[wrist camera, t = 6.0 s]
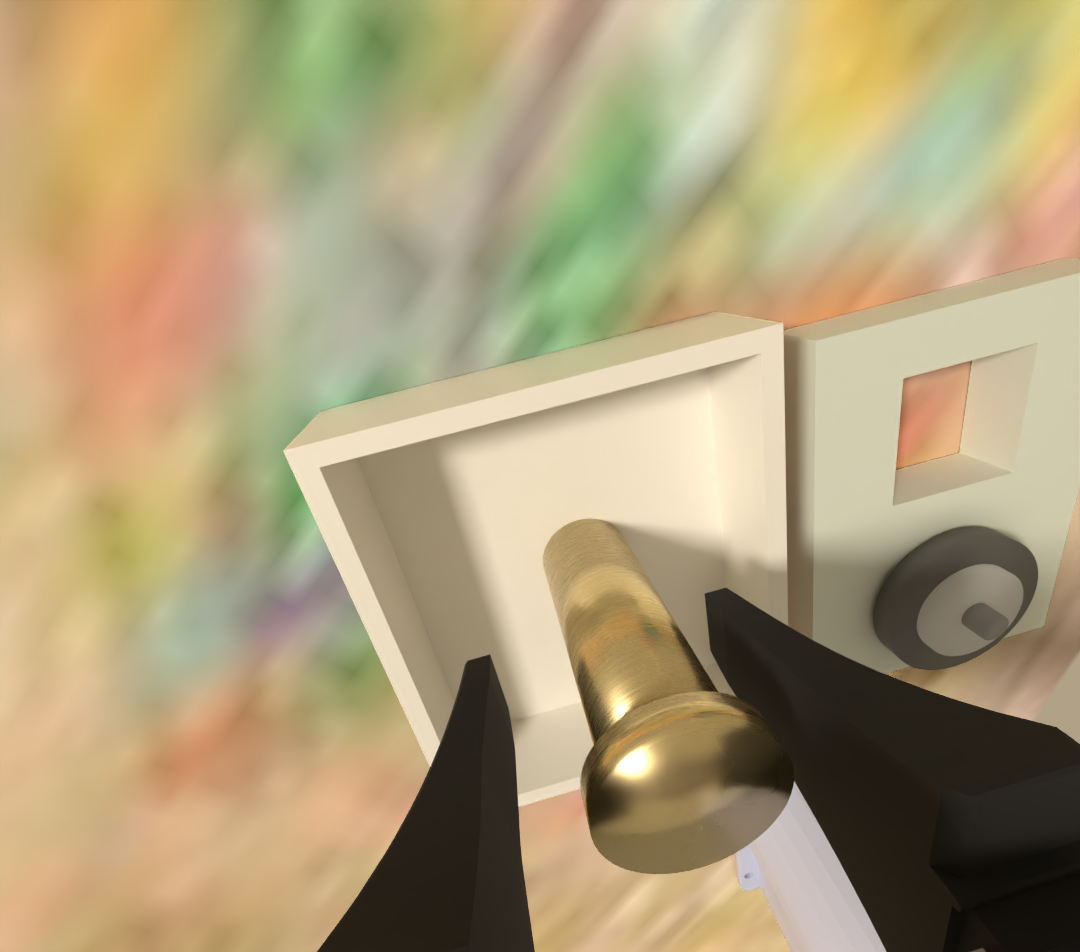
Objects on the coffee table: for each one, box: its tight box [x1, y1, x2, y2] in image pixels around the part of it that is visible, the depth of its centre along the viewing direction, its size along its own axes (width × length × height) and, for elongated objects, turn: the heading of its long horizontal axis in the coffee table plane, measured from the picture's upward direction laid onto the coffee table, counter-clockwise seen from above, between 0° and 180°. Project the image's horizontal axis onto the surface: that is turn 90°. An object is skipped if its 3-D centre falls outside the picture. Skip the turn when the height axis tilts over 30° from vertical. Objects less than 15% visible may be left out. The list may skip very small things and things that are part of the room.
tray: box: [283, 311, 788, 807], centre depth 16 cm, size 14×12×4 cm
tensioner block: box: [783, 259, 1080, 674], centre depth 17 cm, size 14×10×4 cm
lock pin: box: [543, 519, 794, 874], centre depth 13 cm, size 4×4×9 cm
